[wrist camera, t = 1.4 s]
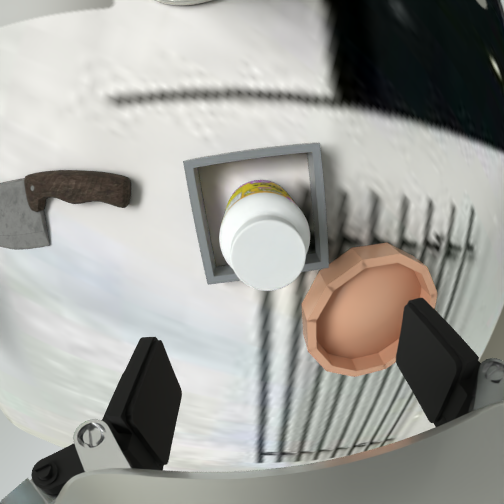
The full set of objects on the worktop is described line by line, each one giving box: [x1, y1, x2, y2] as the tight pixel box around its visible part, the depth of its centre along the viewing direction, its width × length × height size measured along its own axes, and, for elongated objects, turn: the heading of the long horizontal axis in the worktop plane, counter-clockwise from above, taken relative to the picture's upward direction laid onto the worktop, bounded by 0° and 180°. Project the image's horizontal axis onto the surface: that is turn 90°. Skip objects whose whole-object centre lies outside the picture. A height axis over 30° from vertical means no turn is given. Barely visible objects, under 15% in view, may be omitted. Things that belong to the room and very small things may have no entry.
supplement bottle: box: [219, 180, 310, 291], centre depth 24 cm, size 7×7×13 cm
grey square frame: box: [183, 143, 329, 284], centre depth 28 cm, size 13×13×2 cm
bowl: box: [302, 243, 437, 377], centre depth 33 cm, size 17×17×4 cm
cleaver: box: [0, 170, 131, 249], centre depth 28 cm, size 30×10×2 cm, turn 91°
